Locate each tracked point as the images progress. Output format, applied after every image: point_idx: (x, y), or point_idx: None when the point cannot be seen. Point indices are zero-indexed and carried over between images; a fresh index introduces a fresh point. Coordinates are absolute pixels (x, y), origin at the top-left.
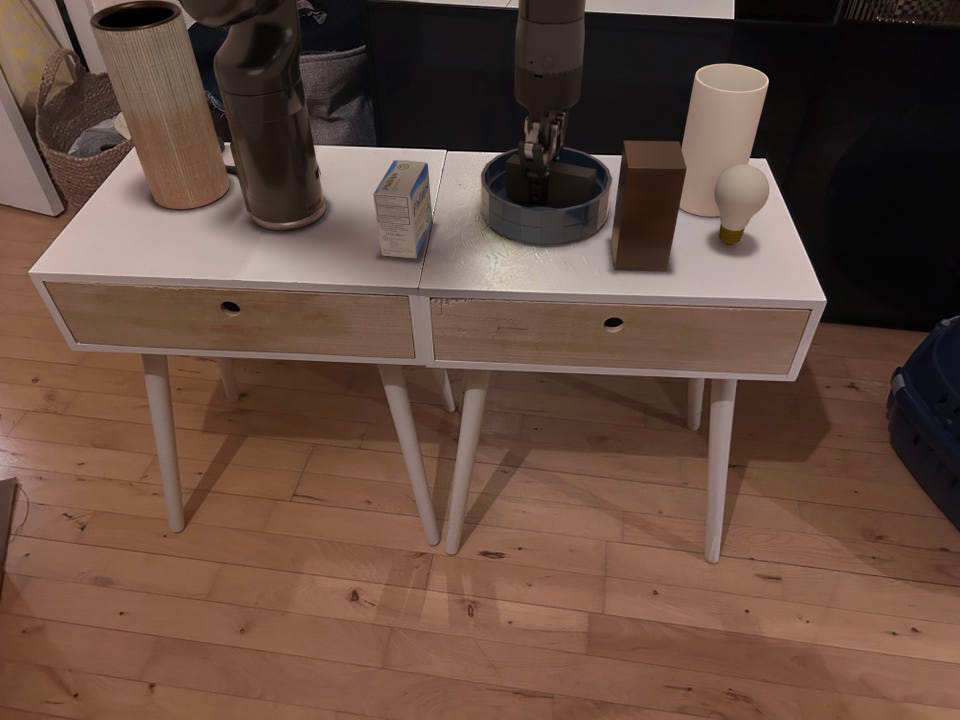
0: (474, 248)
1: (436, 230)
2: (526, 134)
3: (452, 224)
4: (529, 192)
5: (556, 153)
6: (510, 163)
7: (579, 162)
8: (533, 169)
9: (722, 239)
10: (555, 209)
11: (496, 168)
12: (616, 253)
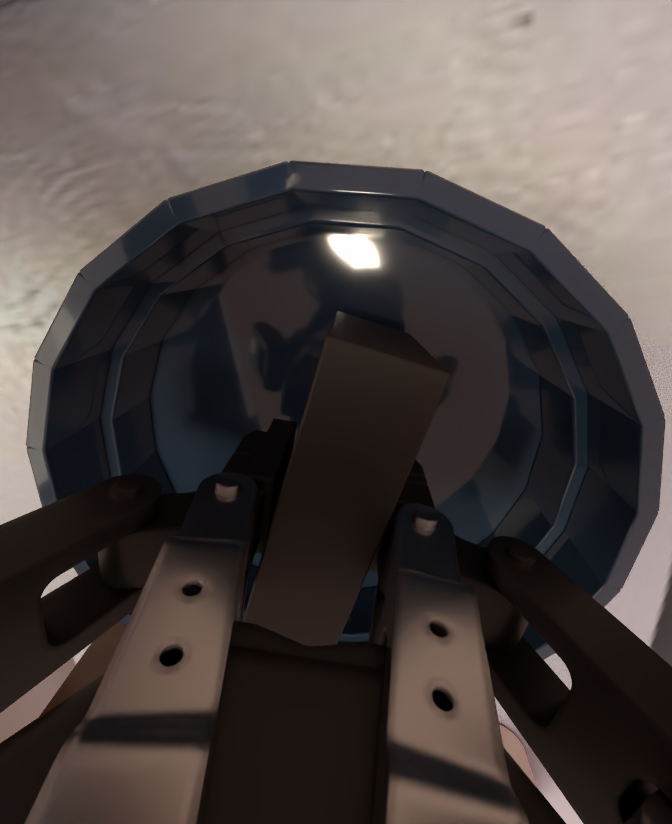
0: (54, 234)
1: (102, 15)
2: (84, 721)
3: (171, 88)
4: (265, 435)
5: (368, 640)
6: (317, 369)
7: None
8: (117, 558)
9: None
10: (79, 566)
11: (475, 237)
12: (90, 645)
